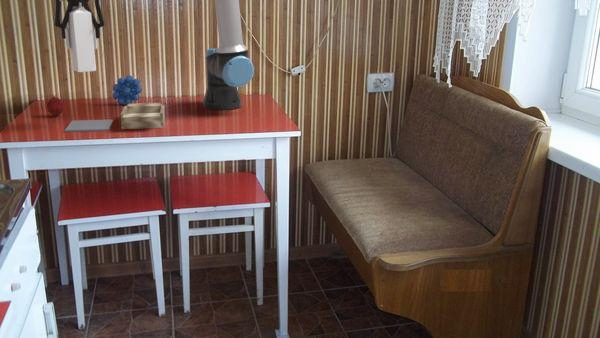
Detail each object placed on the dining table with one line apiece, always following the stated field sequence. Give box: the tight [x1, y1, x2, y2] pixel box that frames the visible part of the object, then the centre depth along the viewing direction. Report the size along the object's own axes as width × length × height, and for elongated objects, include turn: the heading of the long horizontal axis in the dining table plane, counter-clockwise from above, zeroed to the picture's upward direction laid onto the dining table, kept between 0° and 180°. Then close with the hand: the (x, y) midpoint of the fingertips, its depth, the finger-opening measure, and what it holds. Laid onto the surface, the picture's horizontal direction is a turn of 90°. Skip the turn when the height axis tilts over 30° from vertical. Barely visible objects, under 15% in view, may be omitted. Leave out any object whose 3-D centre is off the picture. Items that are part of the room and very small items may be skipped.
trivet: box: [64, 119, 114, 133], centre depth 208 cm, size 14×14×1 cm
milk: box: [67, 2, 97, 73], centre depth 199 cm, size 6×6×22 cm
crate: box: [120, 102, 166, 130], centre depth 213 cm, size 14×22×5 cm, turn 10°
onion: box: [46, 94, 65, 118], centre depth 221 cm, size 6×6×8 cm
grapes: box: [112, 75, 143, 106], centre depth 241 cm, size 12×7×12 cm, turn 97°
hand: (82, 48), depth 200 cm, fingers closed on milk, 8 cm apart
